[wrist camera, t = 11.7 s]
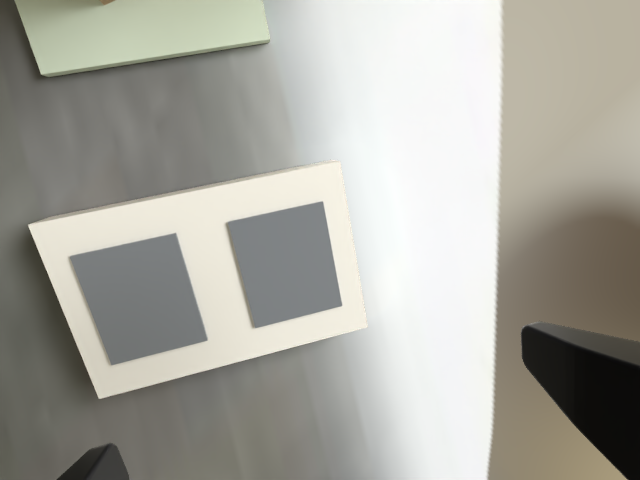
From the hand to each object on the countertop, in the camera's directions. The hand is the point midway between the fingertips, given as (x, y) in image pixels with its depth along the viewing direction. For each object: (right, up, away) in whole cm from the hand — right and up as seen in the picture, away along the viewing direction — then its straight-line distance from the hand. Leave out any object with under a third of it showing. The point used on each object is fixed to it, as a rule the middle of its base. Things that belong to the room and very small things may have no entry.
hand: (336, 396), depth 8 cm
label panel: (-6, +2, +12) cm, 13 cm away
